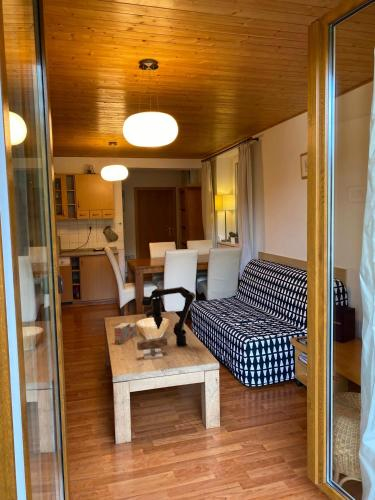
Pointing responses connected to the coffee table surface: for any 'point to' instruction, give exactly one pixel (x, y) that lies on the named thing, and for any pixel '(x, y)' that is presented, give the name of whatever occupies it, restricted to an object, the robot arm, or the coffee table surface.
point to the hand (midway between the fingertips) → (157, 327)
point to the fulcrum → (152, 353)
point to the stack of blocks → (125, 332)
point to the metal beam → (151, 343)
